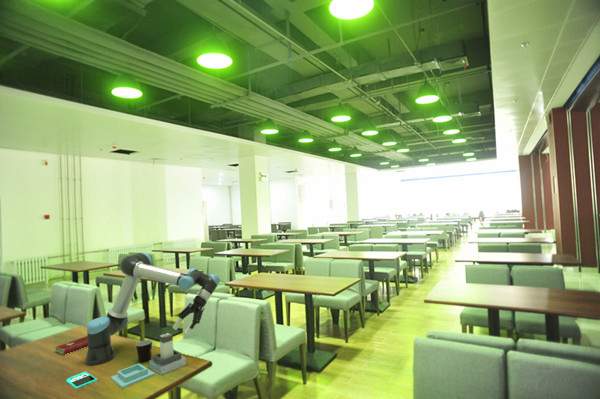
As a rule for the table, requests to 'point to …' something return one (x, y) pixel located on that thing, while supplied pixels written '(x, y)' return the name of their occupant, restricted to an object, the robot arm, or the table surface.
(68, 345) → the hardcover book
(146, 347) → the coffee mug
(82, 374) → the handheld game console
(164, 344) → the plug block
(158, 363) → the upper socket stand
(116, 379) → the lower socket plate
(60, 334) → the table surface
